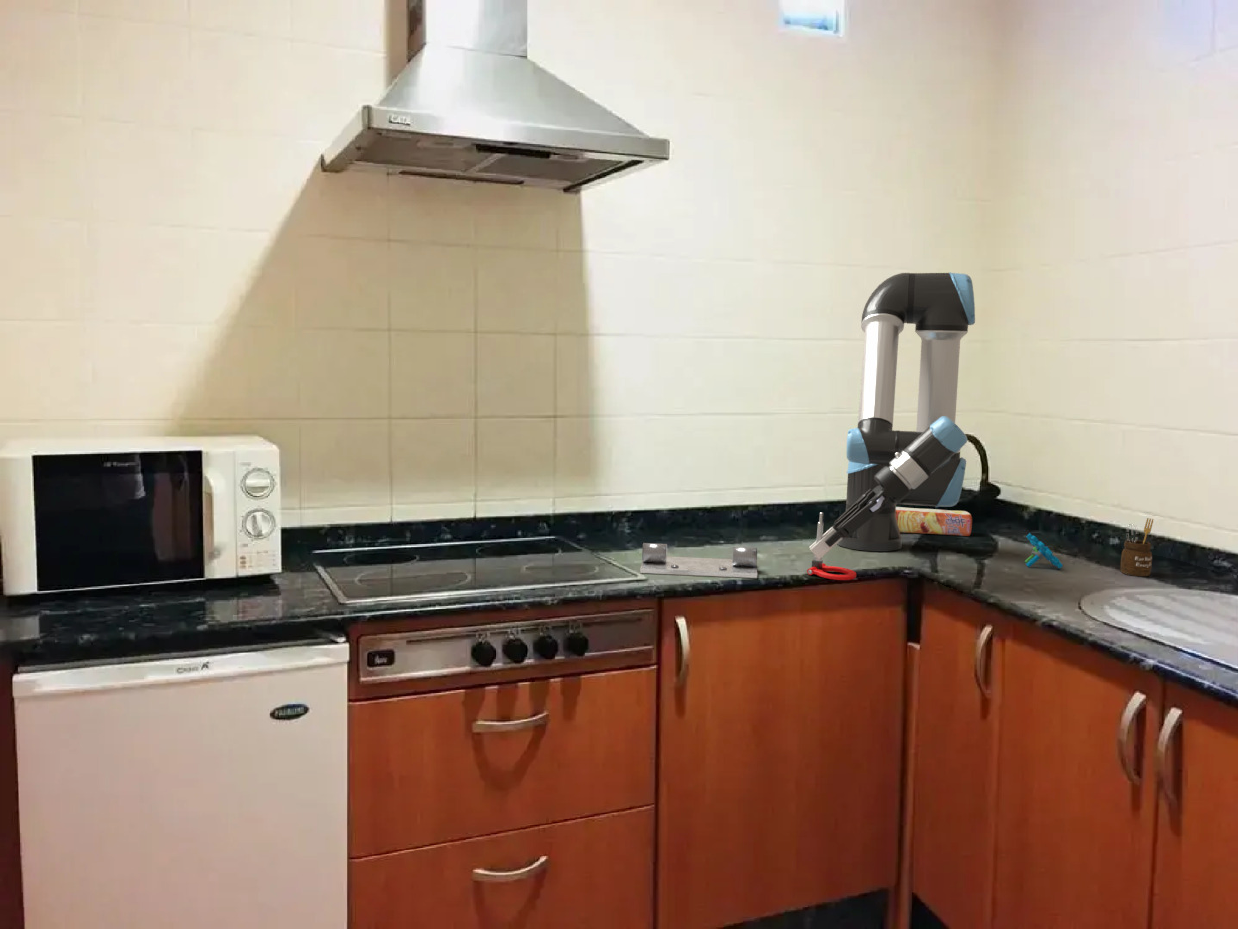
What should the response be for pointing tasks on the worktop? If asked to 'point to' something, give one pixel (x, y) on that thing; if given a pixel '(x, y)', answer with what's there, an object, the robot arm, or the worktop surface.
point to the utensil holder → (1137, 555)
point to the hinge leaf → (699, 563)
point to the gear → (1041, 553)
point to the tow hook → (820, 567)
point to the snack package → (934, 521)
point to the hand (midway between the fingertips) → (814, 553)
